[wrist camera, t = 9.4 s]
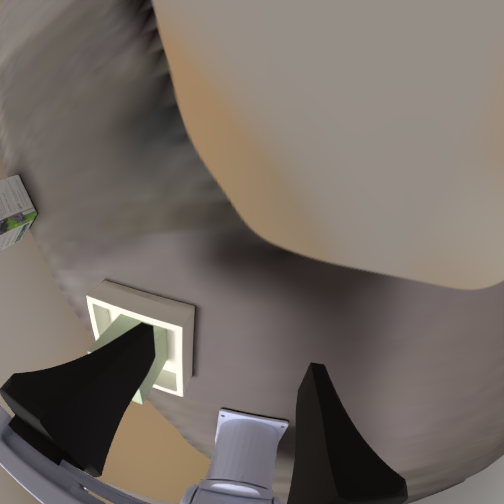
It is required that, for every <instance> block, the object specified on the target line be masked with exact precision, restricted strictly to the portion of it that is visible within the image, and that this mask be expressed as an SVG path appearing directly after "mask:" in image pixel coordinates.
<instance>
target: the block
mask: <svg viewBox="0 0 504 504" xmlns="http://www.w3.org/2000/svg"><path fill="white" fill-rule="evenodd" d="M141 322H143V323H146V324H149V325H153V324H150V323H147V322H144V321H141V320H138V319H135V318H132V317H129V316H126V315H123V314H120V315H119V316H118V317H117V318H116V319H115V320H114V321H113V322H112V323H111V325H110V326H109V327H108V328H107V329H106V330H105V331H104V332H103V334H102V335H101V336H100V337H99V338H98V339H97V340H96V342H95V343H94V344H93V345H92V346H91V347H90V349H89V350H88V354H89V353H91V352H93V351H95V350H97V349H99V348H100V347H102V346H104V345H106V344H108V343H109V342H111V341H112V340H114V339H116V338H117V337H119V336H121V335H122V334H124V333H125V332H127V331H128V330H130V329H132V328H133V327H135V326H136V325H138V324H140V323H141ZM153 328H154V342H155V353H156V357H155V359H154V362H153V364H152V366H151V368H150V371H149V373H148V375H147V376H146V378H145V379H144V381H143V383H142V384H141V386H140V388H139V389H138V391H137V392H136V394H135V396H134V397H133V399H132V400H133V401H135V402H138V403H140V404H143V403H144V401H145V400H146V398H147V396H148V394H149V392H150V390H151V389H152V387H153V385H154V383H155V381H156V379H157V378H158V376H159V374H160V372H161V370H162V369H163V367H164V365H165V363H166V361H167V360H168V359H167V337H166V328H163V327H160V326H156V325H153Z"/></svg>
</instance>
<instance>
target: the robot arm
mask: <svg viewBox="0 0 504 504" xmlns="http://www.w3.org/2000/svg"><path fill="white" fill-rule="evenodd" d="M155 357H156V353H155V342H154V328H153V325H149V324H146V323H143V322H141V323H140V324H138V325H136V326H135V327H133V328H132V329H130V330H128V331H127V332H125V333H124V334H122V335H121V336H119V337H117V338H116V339H114V340H112V341H111V342H109V343H108V344H106V345H104V346H102V347H100V348H99V349H97V350H95V351H93V352H91V353H89V354H87V355H85V356H83V357H81V358H78V359H76V360H73V361H71V362H68V363H65V364H62V365H59V366H56V367H52V368H48V369H44V370H39V371H33V372H25V373H15V374H13V375H12V376H11V377H10V378H9V379H8V381H7V382H6V383H5V384H4V385H3V386H2V387H1V388H0V393H1V396H2V397H3V399H4V400H5V402H6V403H7V404H8V406H9V407H10V408H11V410H12V411H13V412H14V413H15V416H14V417H13V418H12V417H11V416H10V415H9V414H8V413H7V412H6V411H5V410H4V409H3V408H2V407H1V406H0V465H1V466H3V468H4V469H5V470H6V471H7V472H8V473H9V474H10V475H11V476H12V477H13V478H14V479H15V480H16V481H17V482H18V483H20V484H21V485H22V486H23V487H24V488H25V489H26V490H27V491H28V492H30V493H31V494H32V495H33V496H34V497H35V498H36V499H38V500H39V501H40V502H41V503H42V504H106V503H105V502H103V501H101V500H99V499H97V498H96V497H94V496H92V495H91V494H89V493H87V492H86V491H85V489H84V488H86V489H88V490H90V491H92V492H93V493H95V494H97V495H99V496H101V497H102V498H105V499H106V500H109V501H110V502H113V503H114V504H150V503H147V502H144V501H142V500H139V499H137V498H135V497H132V496H130V495H128V494H125V493H123V492H121V491H119V490H117V489H115V488H113V487H111V486H109V485H107V484H105V483H103V482H101V481H99V480H97V479H95V478H93V477H99V476H101V475H102V471H103V467H104V464H105V461H106V457H107V454H108V452H109V448H110V446H111V443H112V440H113V438H114V435H115V433H116V430H117V428H118V426H119V423H120V421H121V419H122V417H123V414H124V412H125V411H126V409H127V407H128V405H129V404H130V402H131V400H132V399H133V397H134V396H135V394H136V392H137V391H138V389H139V388H140V386H141V384H142V383H143V381H144V379H145V378H146V376H147V375H148V373H149V371H150V368H151V366H152V364H153V362H154V359H155ZM287 427H288V422H287V421H284V420H277V419H271V418H265V417H259V416H254V415H249V414H244V413H239V412H235V411H230V410H226V409H221V410H220V411H219V417H218V424H217V431H216V438H215V443H216V444H215V447H214V451H213V454H212V458H211V461H210V464H209V468H208V471H207V475H206V478H205V480H204V479H201V481H200V484H199V485H196V484H195V485H192V486H191V487H189V488H188V489H187V490H186V491H185V493H184V495H183V497H182V499H181V502H180V504H283V502H282V501H281V500H280V499H279V497H273V499H272V496H273V490H272V483H273V476H274V469H275V461H276V453H277V445H278V443H279V441H280V439H281V437H282V436H283V434H284V432H285V430H286V429H287ZM79 469H80V470H79ZM81 470H82V471H81ZM83 471H84V472H86V473H88V474H89V475H88V474H86V473H84V472H83ZM90 475H91V476H93V477H91V476H90ZM407 499H408V492H407V485H406V481H405V479H404V478H403V477H401V476H400V475H399V474H397V473H396V472H395V471H394V470H392V469H391V468H390V467H389V466H388V465H387V464H386V463H385V462H384V461H383V460H382V459H381V458H380V457H379V456H378V455H377V454H376V453H375V452H374V451H373V450H372V448H371V447H370V446H369V445H368V444H367V443H366V441H365V440H364V439H363V437H362V436H361V435H360V433H359V432H358V430H357V429H356V427H355V426H354V424H353V423H352V421H351V419H350V418H349V416H348V414H347V412H346V411H345V409H344V407H343V405H342V403H341V401H340V399H339V397H338V395H337V393H336V391H335V389H334V386H333V384H332V382H331V380H330V377H329V375H328V372H327V370H326V367H325V366H324V364H317V363H310V365H309V367H308V370H307V372H306V374H305V377H304V379H303V381H302V383H301V385H300V387H299V390H298V396H297V404H296V452H295V462H294V469H293V476H292V481H291V487H290V492H289V497H288V501H287V504H402V503H404V502H405V501H406V500H407Z"/></svg>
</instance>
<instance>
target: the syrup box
mask: <svg viewBox="0 0 504 504" xmlns="http://www.w3.org/2000/svg"><path fill="white" fill-rule="evenodd" d="M36 215H37V212H36V210H35V208H34V206H33V204H32V202H31V200H30V198H29V196H28V194H27V192H26V190H25V188H24V186H23V183H22V181H21V179H20V177H19V175H15V176H11V177H8V178H4V179H1V180H0V251H1V250H3V249H5V248H6V247H8V246H10V245H12V244H13V243H16V242H17V241H19V240H21V239H23V237H24V235H25V233H26V232H27V230H28V229H29V227H30V225H31V223H32V222H33V220H34V218H35V217H36Z"/></svg>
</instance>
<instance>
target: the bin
mask: <svg viewBox="0 0 504 504" xmlns="http://www.w3.org/2000/svg"><path fill="white" fill-rule="evenodd" d="M86 297H87V302H88V307H89V312H90V317H91V322H92V326H93V331H94V335H95V339H96V340H97V339H98V338H99V337H100V336H101V335H102V334H103V332H104V331H105V330H106V329H107V328H108V327H109V326H110V325H111V323H112V322H113V321H114V320H115V319H116V318H117V317H118V316H119V315H120V314H123V315H126V316H129V317H132V318H135V319H138V320H141V321H144V322H147V323H150V324H153V325H156V326H160V327H163V328H166V337H167V359H168V360H167V361H166V363H165V365H164V367H163V369H162V370H161V372H160V374H159V376H158V378H157V379H156V381H155V383H154V385H153V387H154V388H157V389H160V390H163V391H166V392H169V393H172V394H175V395H178V396H181V397H183V396H184V394H185V391H186V389H187V387H188V384H189V382H190V380H191V377H192V360H193V332H194V312H195V306H193V305H190V304H186V303H182V302H178V301H174V300H171V299H167V298H164V297H160V296H156V295H153V294H149V293H146V292H143V291H139V290H136V289H133V288H129V287H126V286H123V285H120V284H116V283H113V282H110V281H107V280H104V281H103V282H101V283H100V284H99V285H98V286H97V287H96V288H94V289H93V290H92V291H91V292H90V293H89V294H87V295H86Z"/></svg>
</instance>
